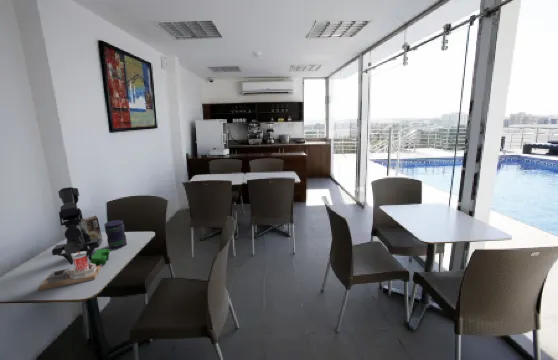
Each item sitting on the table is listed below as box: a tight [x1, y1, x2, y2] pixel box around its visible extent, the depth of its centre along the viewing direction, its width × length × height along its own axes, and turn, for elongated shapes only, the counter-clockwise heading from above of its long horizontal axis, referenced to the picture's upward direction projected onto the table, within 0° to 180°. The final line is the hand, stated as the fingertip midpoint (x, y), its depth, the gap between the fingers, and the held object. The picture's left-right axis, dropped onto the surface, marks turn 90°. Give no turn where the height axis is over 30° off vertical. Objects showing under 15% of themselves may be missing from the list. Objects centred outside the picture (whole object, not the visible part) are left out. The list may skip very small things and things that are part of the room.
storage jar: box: [104, 219, 128, 250], centre depth 165 cm, size 10×10×15 cm
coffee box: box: [81, 215, 104, 243], centre depth 172 cm, size 9×6×16 cm
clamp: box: [90, 248, 111, 265], centre depth 146 cm, size 12×6×9 cm, turn 12°
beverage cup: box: [71, 251, 89, 273], centre depth 132 cm, size 6×6×14 cm
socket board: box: [37, 262, 102, 291], centre depth 132 cm, size 12×22×4 cm, turn 110°
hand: (81, 262), depth 133 cm, fingers closed on beverage cup, 7 cm apart
